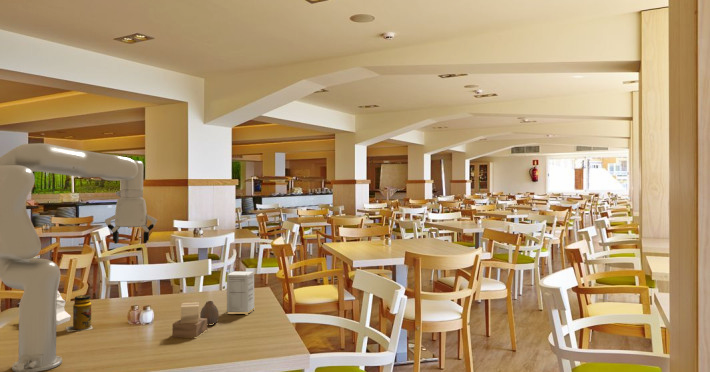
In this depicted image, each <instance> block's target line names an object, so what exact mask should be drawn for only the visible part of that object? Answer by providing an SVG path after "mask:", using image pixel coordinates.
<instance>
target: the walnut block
mask: <svg viewBox="0 0 710 372" xmlns="http://www.w3.org/2000/svg"><path fill="white" fill-rule="evenodd" d="M171 329H172V336H171V337H172V338H182V337H197V336H199V335H200V334H201V333H203V332H204V331H205V330H207V331H208V325H207V319H206V318H200V317H199V322H198V323H185V324H181V319H179V320H177V321H175V322H173V323H172V327H171ZM199 337H200V336H199Z"/></svg>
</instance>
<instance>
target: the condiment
mask: <svg viewBox="0 0 710 372" xmlns="http://www.w3.org/2000/svg"><path fill="white" fill-rule="evenodd" d="M73 300H74V303H73V305H72V309H73V310H72V325H71V326H66V327H65V330H66V332H67V333H70V332H76V331H87V330H93V329H94V327H93V326H92V303H91V296H90V295H89V294H81V295H76V296H75V297H74V299H73Z"/></svg>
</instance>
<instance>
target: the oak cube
mask: <svg viewBox="0 0 710 372" xmlns="http://www.w3.org/2000/svg"><path fill="white" fill-rule="evenodd" d="M180 305H181V306H180V320H181V324H185V323H198V322H199V318H200V302H182V303H181V304H180Z"/></svg>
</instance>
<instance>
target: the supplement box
mask: <svg viewBox="0 0 710 372" xmlns="http://www.w3.org/2000/svg"><path fill="white" fill-rule="evenodd" d="M253 308H254V309H255V271H239V270H237V271H235V270H234V271H232V272H230V273H228V274H226V313H227V312H249V311H250V310H252V309H253Z"/></svg>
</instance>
